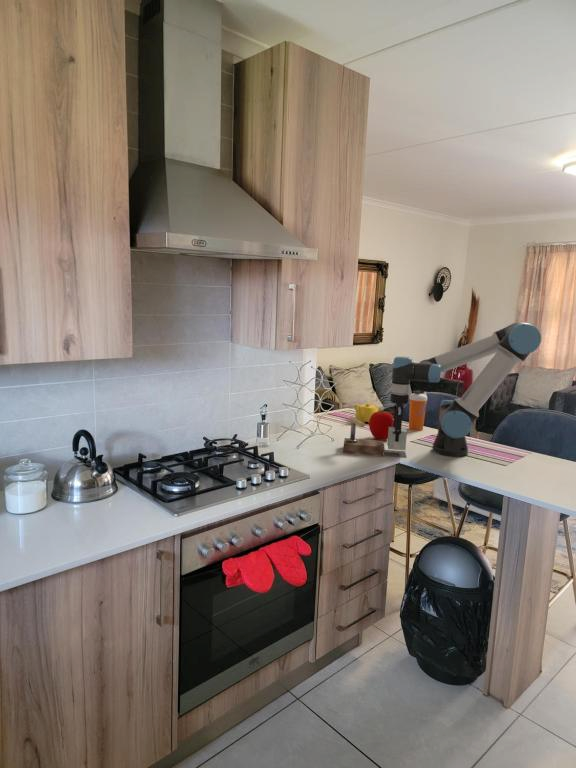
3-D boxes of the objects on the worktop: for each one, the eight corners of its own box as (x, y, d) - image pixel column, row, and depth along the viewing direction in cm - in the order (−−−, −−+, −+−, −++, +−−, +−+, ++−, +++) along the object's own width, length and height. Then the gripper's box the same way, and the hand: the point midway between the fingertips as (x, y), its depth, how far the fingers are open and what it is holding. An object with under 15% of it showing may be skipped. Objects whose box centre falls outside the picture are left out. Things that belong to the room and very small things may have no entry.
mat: (404, 452, 231) (405, 451, 231) (406, 457, 222) (406, 457, 222) (384, 450, 232) (384, 449, 232) (384, 456, 223) (384, 455, 223)
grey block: (403, 445, 230) (405, 428, 229) (405, 450, 223) (406, 431, 222) (387, 444, 231) (388, 426, 229) (388, 449, 224) (390, 430, 222)
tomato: (387, 443, 243) (389, 413, 241) (364, 439, 249) (366, 410, 247) (396, 438, 254) (398, 409, 252) (373, 434, 260) (375, 406, 257)
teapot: (356, 424, 281) (358, 405, 280) (352, 418, 294) (353, 400, 293) (382, 424, 282) (383, 406, 280) (376, 419, 295) (378, 401, 294)
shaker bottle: (403, 428, 276) (406, 390, 272) (413, 426, 282) (416, 389, 278) (418, 432, 269) (421, 393, 266) (428, 429, 275) (431, 391, 272)
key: (365, 446, 221) (367, 423, 220) (356, 446, 220) (357, 423, 218) (354, 439, 232) (356, 417, 230) (345, 439, 230) (347, 417, 229)
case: (382, 449, 233) (383, 441, 232) (383, 456, 223) (384, 447, 222) (344, 446, 235) (344, 437, 234) (343, 452, 225) (343, 443, 225)
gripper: (389, 389, 233) (385, 439, 237) (392, 396, 214) (387, 451, 217) (407, 390, 232) (402, 441, 236) (411, 398, 213) (406, 453, 216)
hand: (395, 446), depth 227 cm, fingers closed on grey block, 7 cm apart
